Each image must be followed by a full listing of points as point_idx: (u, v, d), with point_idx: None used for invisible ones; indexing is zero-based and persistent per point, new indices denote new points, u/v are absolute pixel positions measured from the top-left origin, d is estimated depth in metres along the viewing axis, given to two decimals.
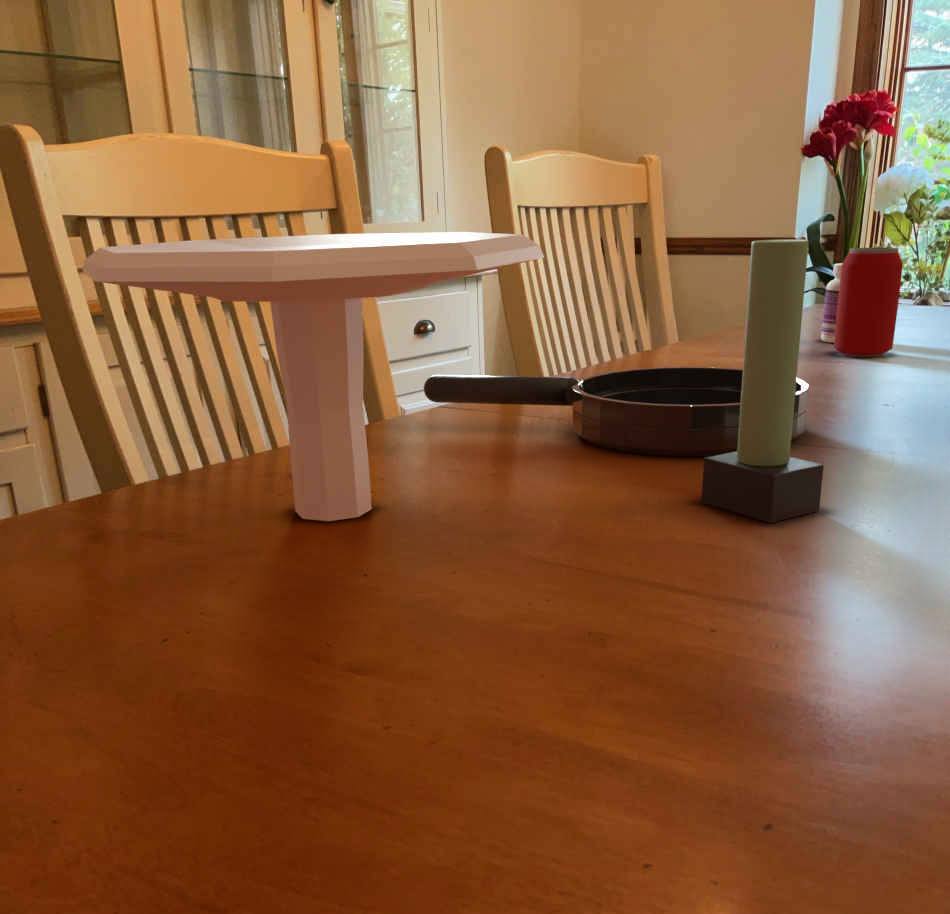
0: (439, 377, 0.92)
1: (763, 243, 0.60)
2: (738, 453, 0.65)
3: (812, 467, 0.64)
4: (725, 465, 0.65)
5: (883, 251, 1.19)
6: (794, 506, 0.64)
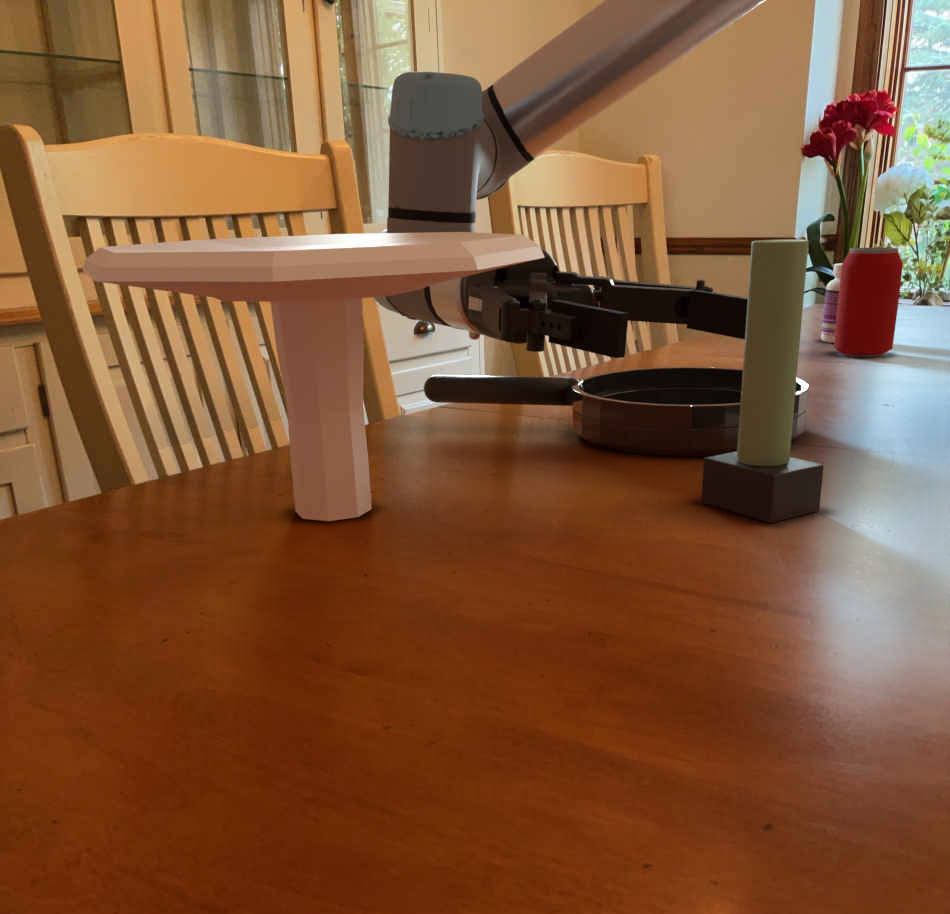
0: (439, 377, 0.92)
1: (763, 243, 0.60)
2: (738, 453, 0.65)
3: (812, 467, 0.64)
4: (725, 465, 0.65)
5: (883, 251, 1.19)
6: (794, 506, 0.64)
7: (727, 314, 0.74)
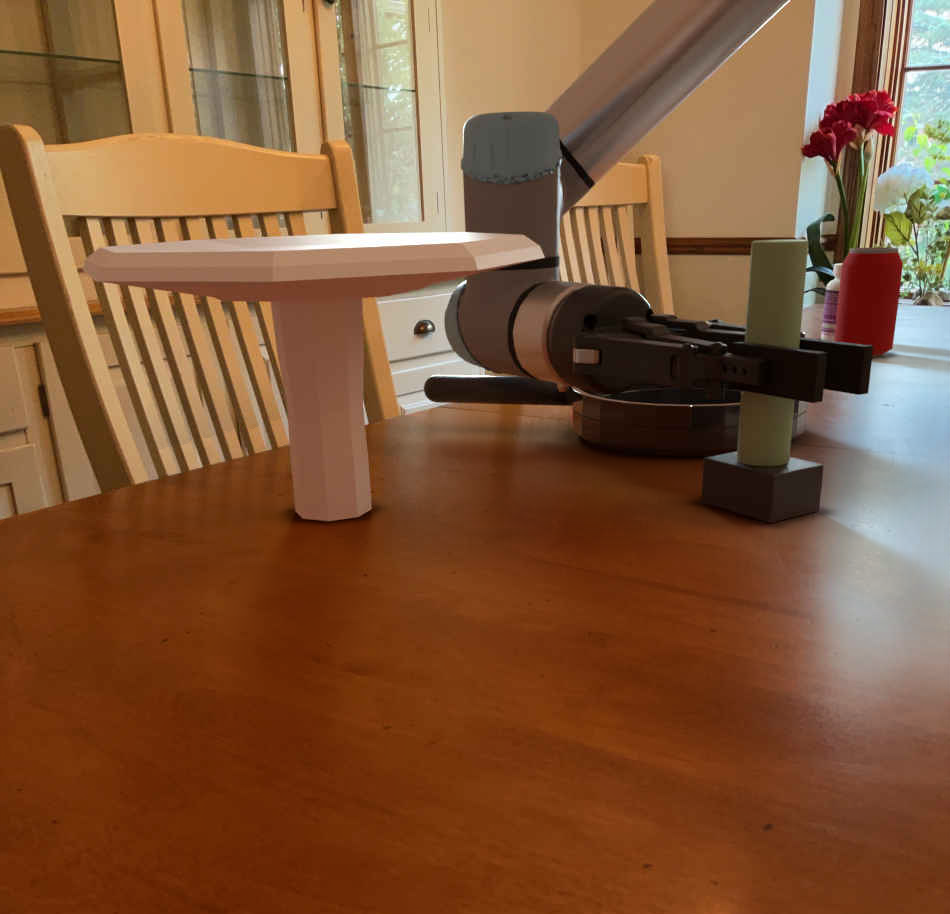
0: (439, 377, 0.92)
1: (763, 243, 0.60)
2: (738, 453, 0.65)
3: (812, 466, 0.64)
4: (725, 465, 0.65)
5: (883, 251, 1.19)
6: (794, 506, 0.64)
7: None
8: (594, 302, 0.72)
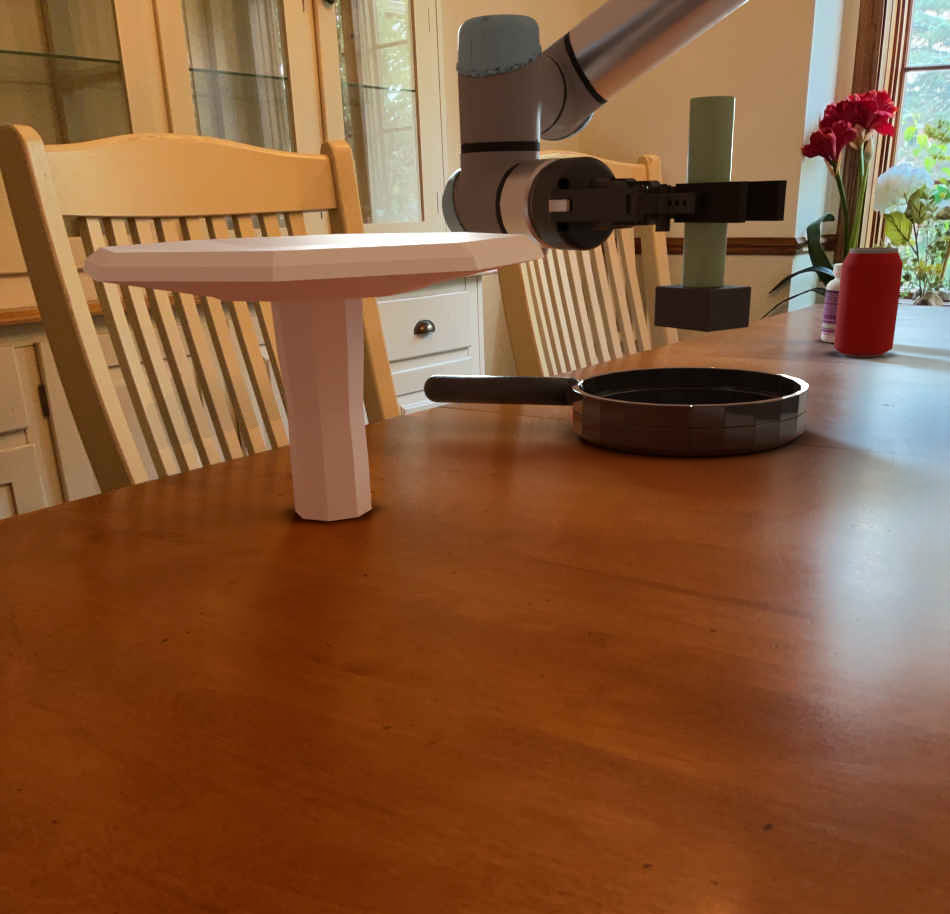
0: (439, 377, 0.92)
1: (698, 98, 0.75)
2: (682, 279, 0.80)
3: (741, 287, 0.79)
4: (672, 289, 0.80)
5: (883, 251, 1.19)
6: (727, 319, 0.79)
7: (748, 199, 0.77)
8: (567, 167, 0.87)
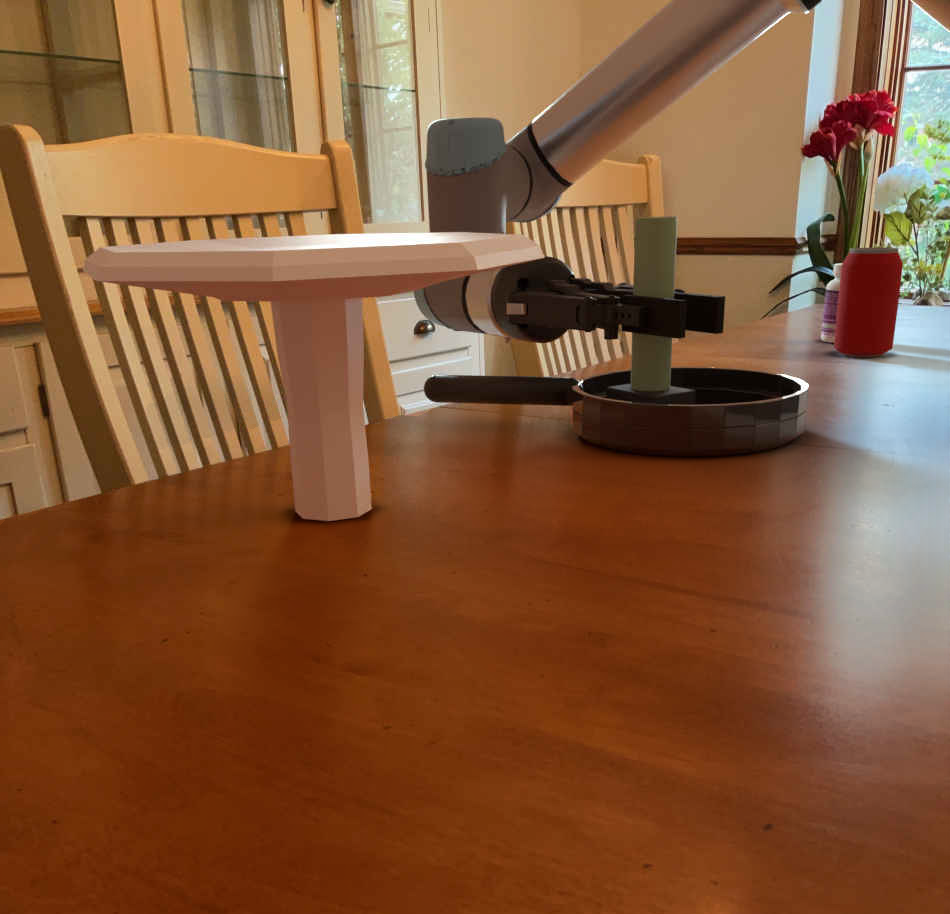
0: (439, 377, 0.92)
1: (642, 219, 0.79)
2: (631, 382, 0.85)
3: (686, 391, 0.83)
4: (621, 391, 0.85)
5: (883, 251, 1.19)
6: None
7: (691, 311, 0.81)
8: (526, 268, 0.92)
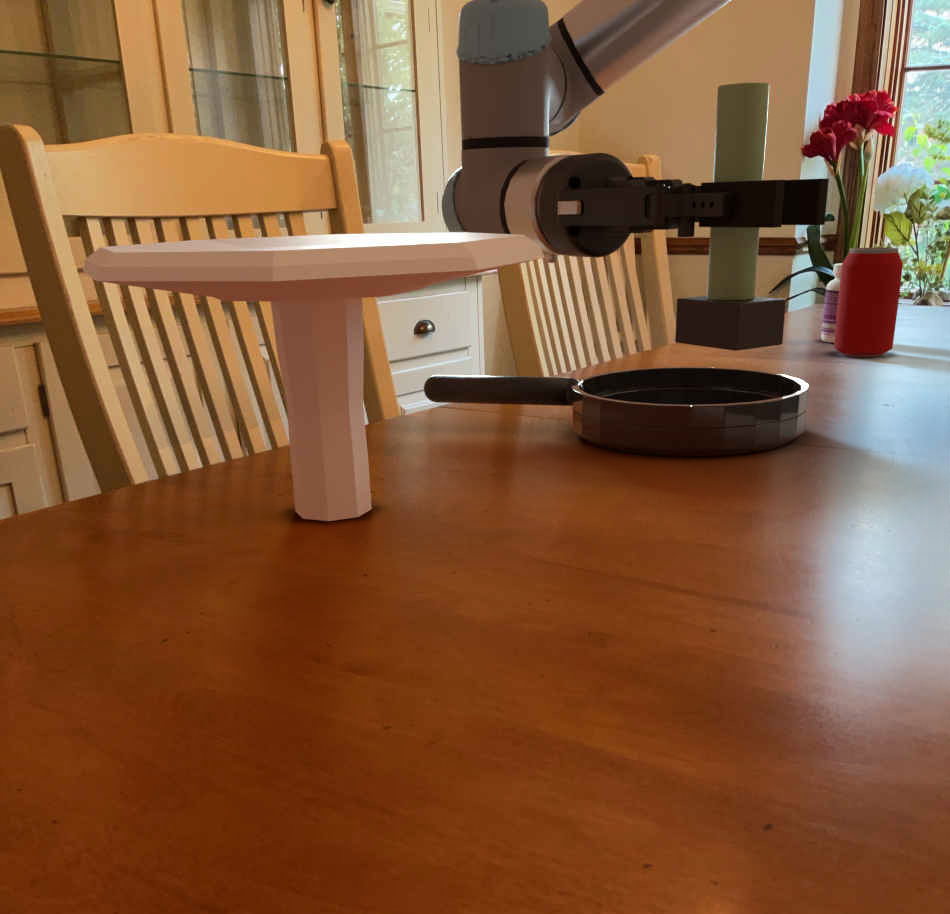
0: (439, 377, 0.92)
1: (727, 85, 0.65)
2: (708, 291, 0.71)
3: (775, 300, 0.70)
4: (696, 301, 0.71)
5: (883, 251, 1.19)
6: (758, 336, 0.70)
7: (784, 200, 0.68)
8: (578, 165, 0.78)
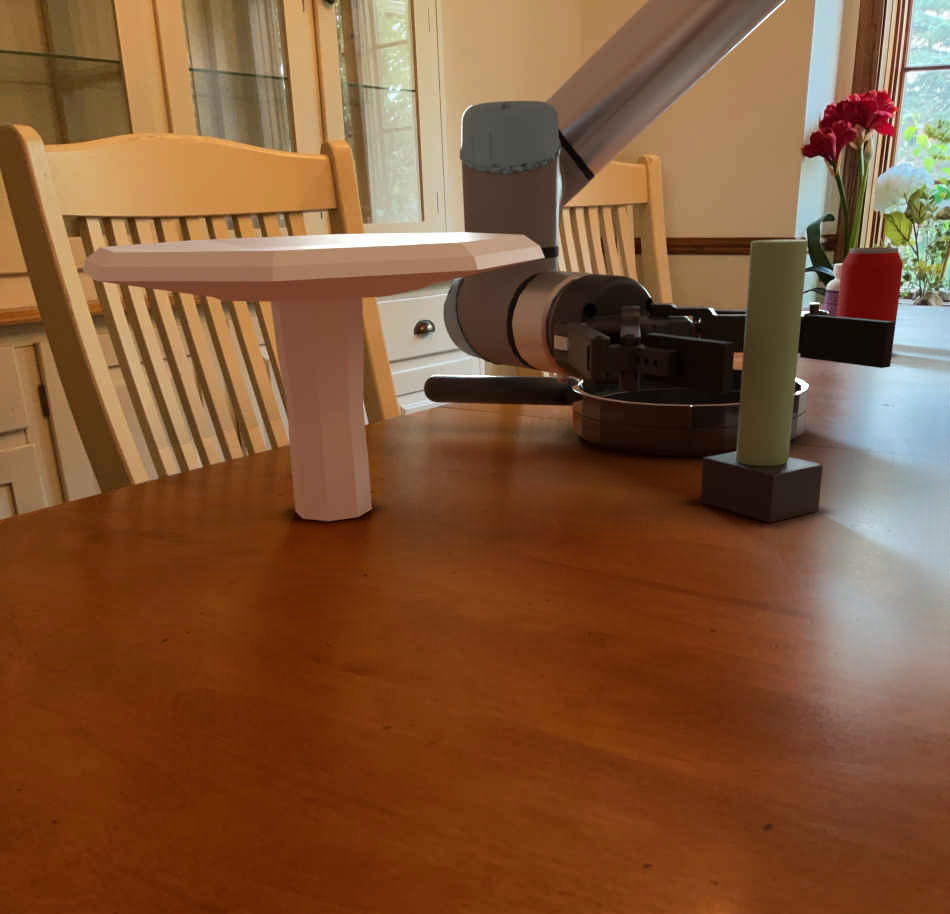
0: (439, 377, 0.92)
1: (762, 243, 0.60)
2: (737, 453, 0.65)
3: (811, 466, 0.64)
4: (725, 464, 0.65)
5: (883, 251, 1.19)
6: (793, 506, 0.64)
7: (847, 339, 0.66)
8: (594, 291, 0.72)
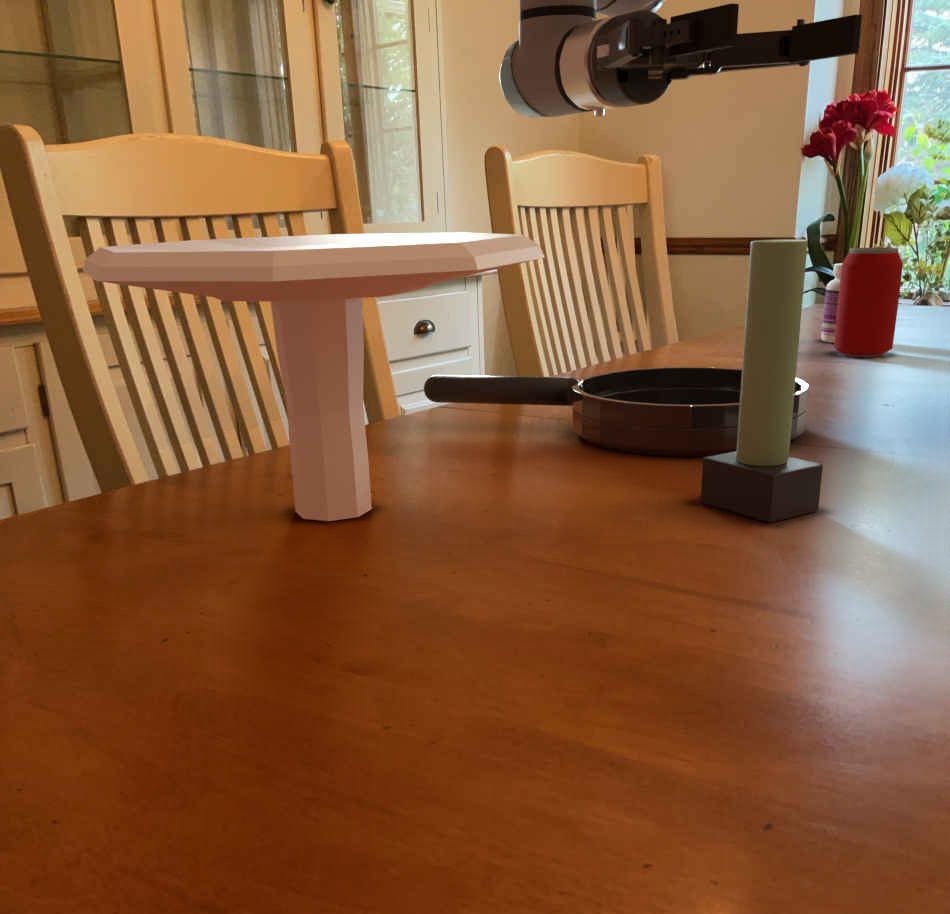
0: (439, 377, 0.92)
1: (762, 243, 0.60)
2: (737, 453, 0.65)
3: (811, 466, 0.64)
4: (725, 464, 0.65)
5: (883, 251, 1.19)
6: (793, 506, 0.64)
7: (825, 37, 0.85)
8: (627, 19, 0.92)
